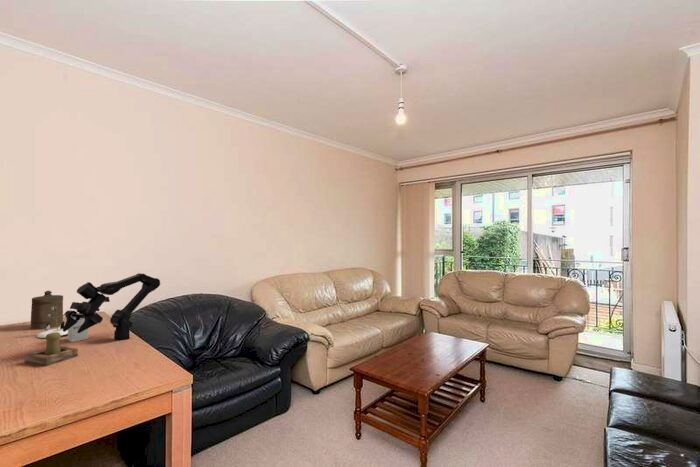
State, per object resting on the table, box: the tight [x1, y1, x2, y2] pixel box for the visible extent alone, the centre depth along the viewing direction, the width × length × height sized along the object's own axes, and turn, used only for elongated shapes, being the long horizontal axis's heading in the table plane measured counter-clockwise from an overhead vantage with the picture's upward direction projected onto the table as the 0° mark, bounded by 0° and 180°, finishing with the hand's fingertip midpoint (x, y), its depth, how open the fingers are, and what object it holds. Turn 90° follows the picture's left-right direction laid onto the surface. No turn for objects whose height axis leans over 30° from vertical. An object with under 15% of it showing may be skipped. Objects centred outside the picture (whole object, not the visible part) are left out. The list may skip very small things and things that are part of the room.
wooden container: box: [30, 290, 64, 330], centre depth 208 cm, size 15×15×22 cm
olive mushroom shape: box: [44, 332, 62, 356], centre depth 154 cm, size 6×6×11 cm
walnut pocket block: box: [24, 345, 79, 367], centre depth 153 cm, size 13×13×4 cm
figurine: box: [36, 307, 68, 339], centre depth 193 cm, size 20×18×16 cm
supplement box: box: [67, 318, 89, 343], centre depth 183 cm, size 7×7×13 cm
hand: (70, 332), depth 161 cm, fingers open, 9 cm apart
